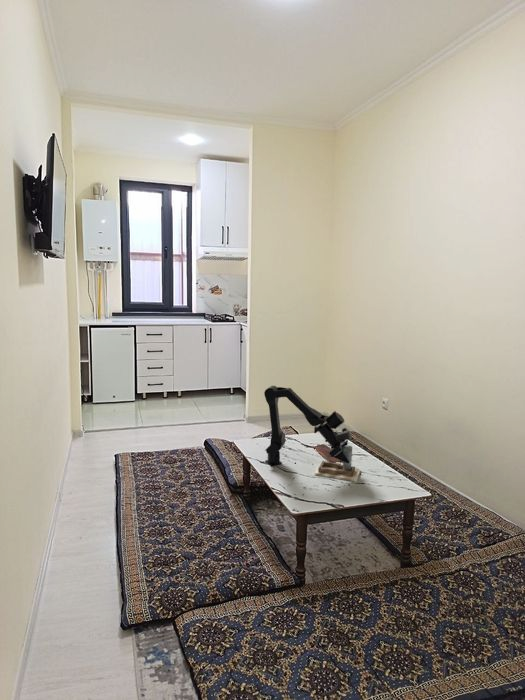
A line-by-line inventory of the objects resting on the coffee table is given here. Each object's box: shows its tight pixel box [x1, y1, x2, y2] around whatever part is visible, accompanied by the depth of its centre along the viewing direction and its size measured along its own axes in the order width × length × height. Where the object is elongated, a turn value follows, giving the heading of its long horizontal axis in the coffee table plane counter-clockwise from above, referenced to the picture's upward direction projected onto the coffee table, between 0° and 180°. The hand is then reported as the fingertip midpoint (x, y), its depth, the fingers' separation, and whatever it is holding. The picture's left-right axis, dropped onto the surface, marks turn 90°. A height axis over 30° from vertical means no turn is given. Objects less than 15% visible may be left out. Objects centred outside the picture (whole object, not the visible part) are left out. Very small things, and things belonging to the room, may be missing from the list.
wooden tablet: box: [314, 443, 343, 464], centre depth 256 cm, size 26×2×10 cm
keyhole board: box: [314, 460, 362, 483], centre depth 230 cm, size 20×13×3 cm, turn 71°
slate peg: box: [342, 444, 353, 471], centre depth 228 cm, size 4×4×13 cm
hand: (350, 459), depth 227 cm, fingers open, 9 cm apart
